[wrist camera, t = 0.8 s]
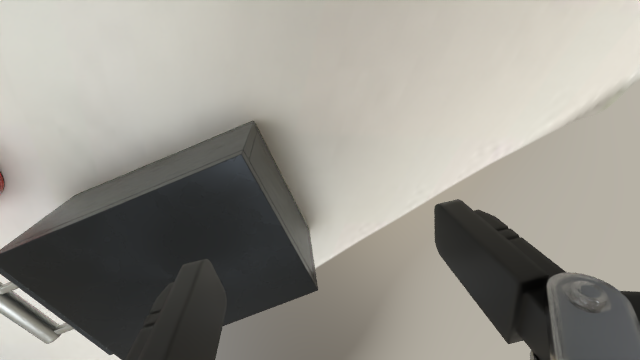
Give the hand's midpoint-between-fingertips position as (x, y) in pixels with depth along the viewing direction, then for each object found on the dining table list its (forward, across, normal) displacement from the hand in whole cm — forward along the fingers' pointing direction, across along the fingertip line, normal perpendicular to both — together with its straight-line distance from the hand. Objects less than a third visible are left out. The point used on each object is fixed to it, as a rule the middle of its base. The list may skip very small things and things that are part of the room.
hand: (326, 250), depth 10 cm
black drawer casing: (+18, +12, +7) cm, 23 cm away
